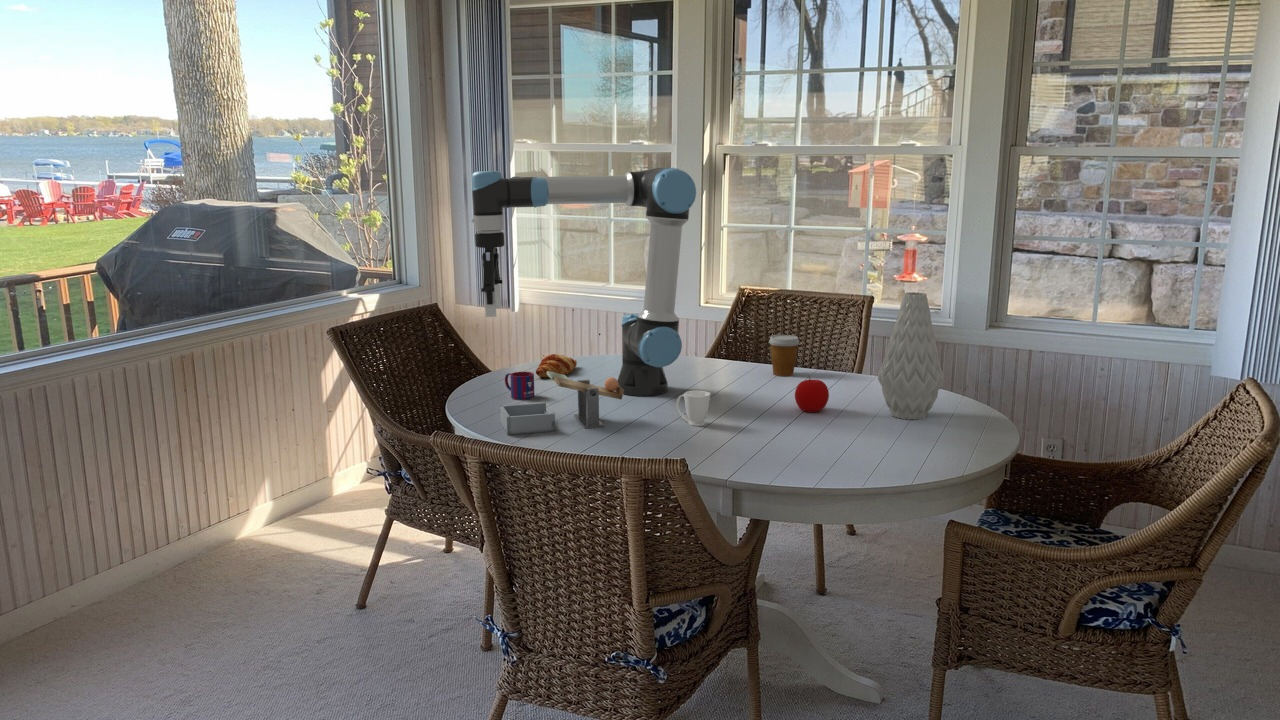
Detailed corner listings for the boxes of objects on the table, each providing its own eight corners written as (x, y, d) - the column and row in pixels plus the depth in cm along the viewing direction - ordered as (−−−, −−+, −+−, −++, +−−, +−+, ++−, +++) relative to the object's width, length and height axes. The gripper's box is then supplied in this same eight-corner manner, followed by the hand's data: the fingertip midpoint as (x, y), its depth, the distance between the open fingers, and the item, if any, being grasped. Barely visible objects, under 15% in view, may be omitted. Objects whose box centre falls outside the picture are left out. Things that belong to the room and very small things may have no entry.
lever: (607, 387, 260) (610, 378, 259) (621, 399, 247) (624, 390, 246) (546, 374, 254) (548, 364, 254) (557, 385, 241) (559, 376, 240)
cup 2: (700, 429, 242) (700, 398, 240) (668, 422, 248) (668, 392, 246) (715, 423, 247) (716, 392, 246) (684, 416, 253) (685, 387, 252)
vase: (872, 421, 249) (878, 296, 242) (879, 406, 264) (885, 288, 257) (939, 427, 243) (947, 299, 236) (943, 411, 258) (950, 290, 252)
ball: (614, 390, 251) (617, 377, 251) (618, 393, 248) (621, 380, 247) (601, 388, 250) (604, 374, 249) (605, 391, 247) (608, 377, 246)
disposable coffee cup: (800, 377, 298) (801, 339, 296) (769, 377, 298) (770, 339, 296) (796, 371, 308) (797, 334, 305) (766, 371, 308) (767, 334, 305)
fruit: (803, 404, 266) (804, 369, 264) (833, 409, 261) (835, 373, 258) (788, 411, 258) (789, 375, 256) (819, 416, 253) (820, 380, 251)
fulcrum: (592, 415, 255) (591, 378, 253) (603, 426, 244) (603, 388, 242) (573, 416, 254) (573, 380, 252) (584, 428, 242) (583, 390, 240)
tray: (545, 418, 252) (545, 402, 251) (555, 431, 240) (554, 413, 239) (500, 422, 248) (499, 405, 247) (507, 435, 237) (507, 417, 236)
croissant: (568, 376, 316) (558, 354, 317) (591, 365, 311) (581, 343, 312) (531, 388, 298) (521, 365, 299) (554, 376, 293) (544, 353, 294)
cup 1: (521, 401, 270) (520, 377, 269) (499, 395, 277) (498, 372, 276) (539, 396, 275) (538, 373, 274) (517, 391, 282) (516, 368, 281)
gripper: (479, 228, 260) (484, 305, 264) (469, 235, 235) (473, 320, 240) (507, 227, 260) (511, 304, 265) (499, 235, 236) (503, 319, 240)
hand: (493, 312), depth 252 cm, fingers open, 13 cm apart
